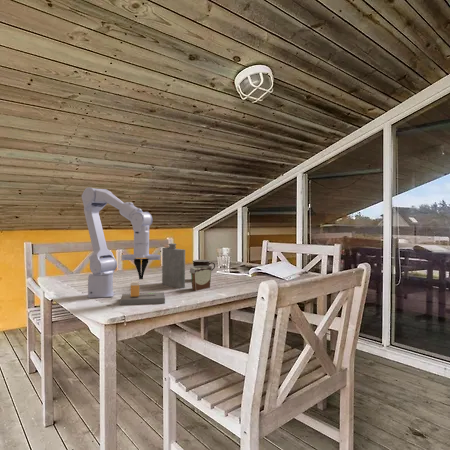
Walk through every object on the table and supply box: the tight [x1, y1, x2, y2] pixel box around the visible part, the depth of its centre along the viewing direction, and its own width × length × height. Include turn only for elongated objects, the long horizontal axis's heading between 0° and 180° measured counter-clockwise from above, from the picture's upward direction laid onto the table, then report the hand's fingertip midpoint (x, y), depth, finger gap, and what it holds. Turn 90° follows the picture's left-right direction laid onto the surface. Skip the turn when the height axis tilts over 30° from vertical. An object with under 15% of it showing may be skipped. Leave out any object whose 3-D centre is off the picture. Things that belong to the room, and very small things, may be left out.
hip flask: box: [161, 243, 186, 289], centre depth 165 cm, size 16×4×20 cm, turn 44°
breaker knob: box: [130, 280, 140, 297], centre depth 134 cm, size 3×5×5 cm, turn 12°
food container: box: [189, 265, 213, 292], centre depth 159 cm, size 12×6×10 cm, turn 141°
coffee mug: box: [192, 259, 216, 271], centre depth 182 cm, size 12×9×10 cm
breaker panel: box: [120, 291, 166, 306], centre depth 134 cm, size 16×10×2 cm, turn 102°
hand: (141, 278), depth 134 cm, fingers closed
